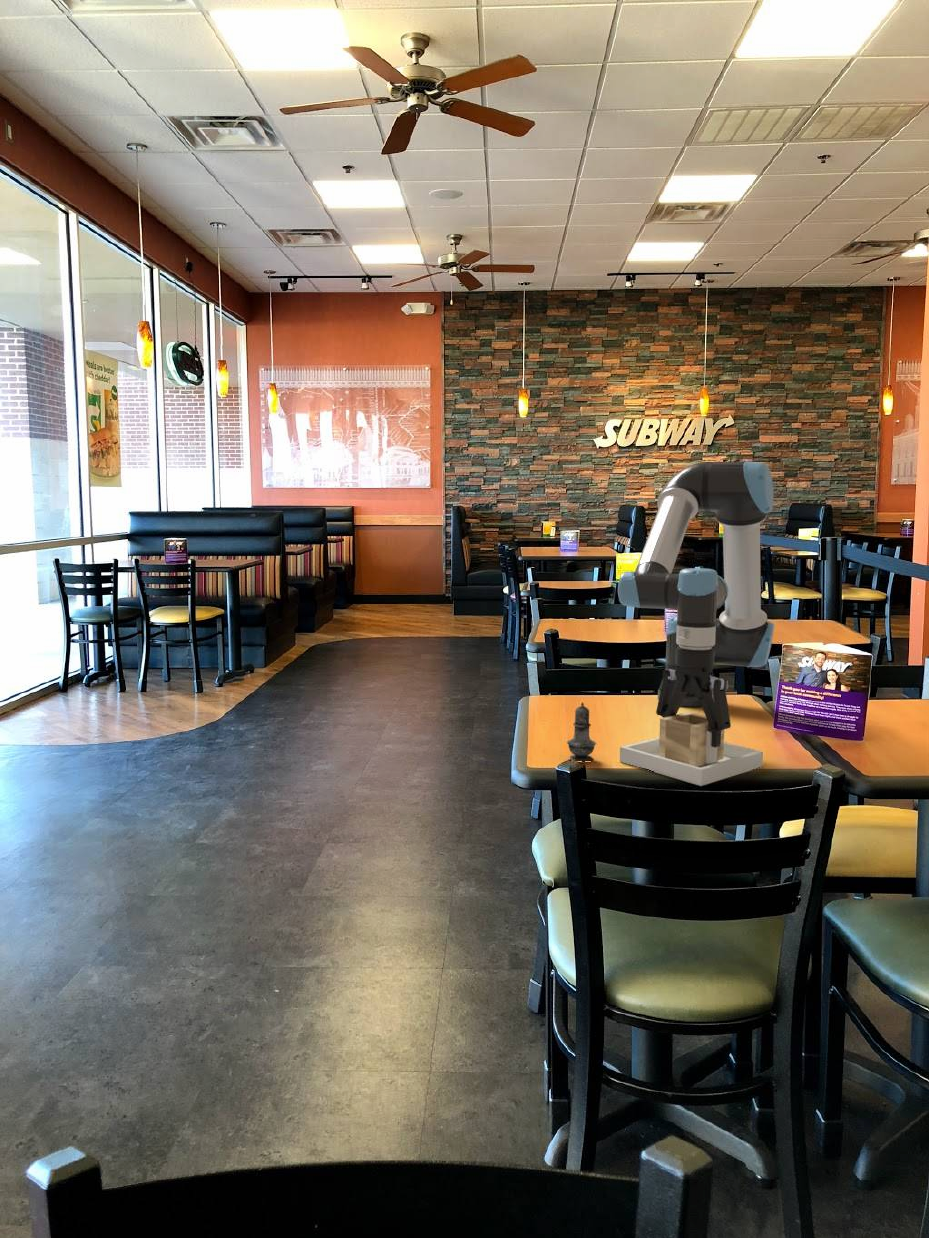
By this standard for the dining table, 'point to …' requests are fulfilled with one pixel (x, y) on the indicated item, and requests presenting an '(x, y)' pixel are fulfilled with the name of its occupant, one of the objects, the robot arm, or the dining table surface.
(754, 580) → the robot arm
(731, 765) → the tray
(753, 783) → the dining table surface
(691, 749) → the wooden box
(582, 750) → the salt shaker
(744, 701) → the dining table surface
